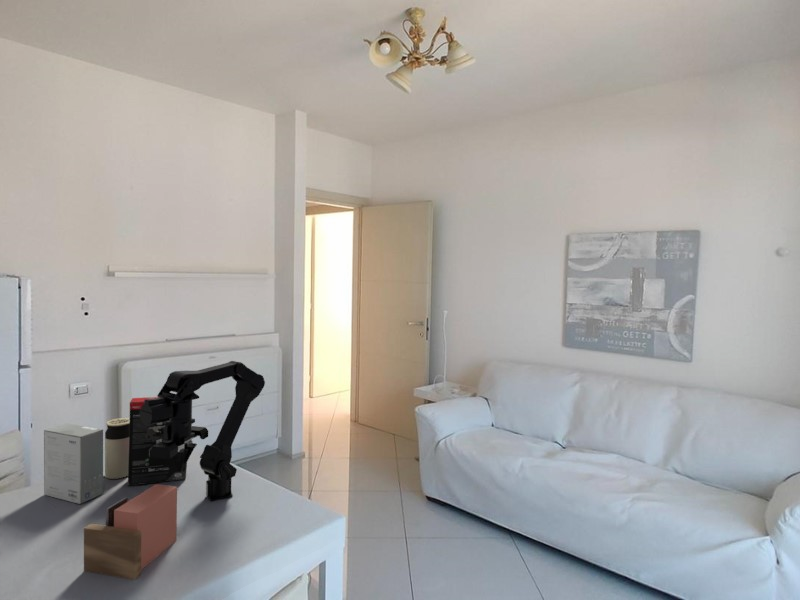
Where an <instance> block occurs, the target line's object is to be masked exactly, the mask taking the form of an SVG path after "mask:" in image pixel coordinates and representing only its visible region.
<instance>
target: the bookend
mask: <svg viewBox="0 0 800 600" xmlns="http://www.w3.org/2000/svg"><path fill="white" fill-rule="evenodd" d="M128 498H129V497H128V496H125V497H123V498H122V499H120V500H118V501H117V502H115V503H114V504H112V505H111V504H110V506H108V507H107V508H106V509H105V526H111V527H114V510H115V509H117V508H119V507H120V506H122V505H123V504H125V503H127V502H128V501H129V500H128Z"/></svg>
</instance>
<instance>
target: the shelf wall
mask: <svg viewBox="0 0 800 600" xmlns="http://www.w3.org/2000/svg"><path fill="white" fill-rule="evenodd" d="M83 571H84V572H88V573H94V574H99V575H104V576H105V575H106V576H111V577H112V576H113V577H118V578H124V579H129V580H137V578H139V577H140V575H142V570H141V531H138V530H131V529H124V528H117V527H111V526H106V525H104V524H103V525H102V524H96V523H89V524H88V525H87V526H85V527H83Z"/></svg>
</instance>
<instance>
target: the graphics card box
mask: <svg viewBox="0 0 800 600" xmlns="http://www.w3.org/2000/svg"><path fill="white" fill-rule="evenodd" d="M153 398H158V396H153V397H151V396H150V397H132V398H131V400H130V402H129V419H130V427H129V464H128V476H127V484H128V485H127V486H135V485H136V486H137V485H146V484H147V485H148V484H154V483H156V484H157V483H164V482H173V481H174V482H175V481H183V480H186V478H187V468H188V462H187V463H186V465H185V467H184V469H183V471H181V472H178V471H177V469H176V466H175V463H174V461H173V459H172V457H171V458H169V459H163V458H155V457H149V449H150V448H151V447H152V446H154V445H156V444H158V443H160V442H166V443H170V440H168V441H164V438H163V439H160V440H156V441H155V442H152V440H148V438H147V429H149V428H153V427H155V426H156V427H157V428H158V427H161V426H164V425H165V423H166V422H167V421H164V422H160V423H156V424H152V425H148V426H145V425H144V424H143V423H142V422H141V419H140V414H139V412H140V410H141V407H142V405H144V402H145V399H153ZM169 420H170V419H169ZM169 420H168V421H169Z"/></svg>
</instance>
